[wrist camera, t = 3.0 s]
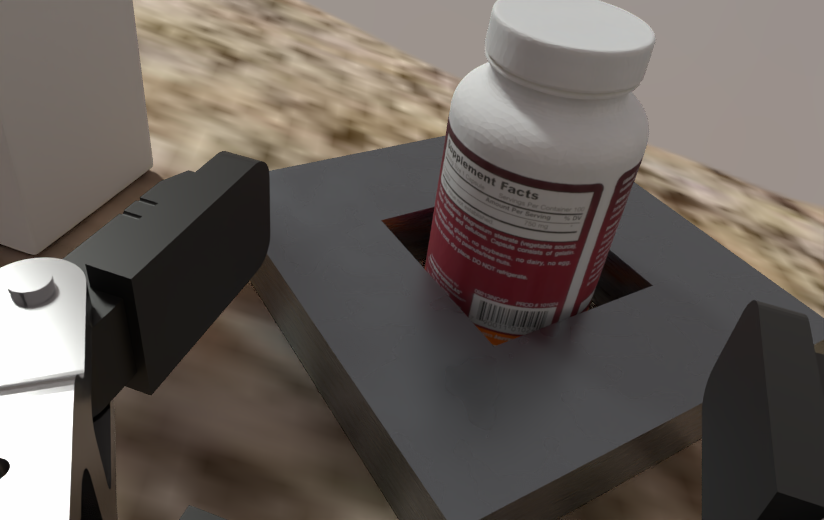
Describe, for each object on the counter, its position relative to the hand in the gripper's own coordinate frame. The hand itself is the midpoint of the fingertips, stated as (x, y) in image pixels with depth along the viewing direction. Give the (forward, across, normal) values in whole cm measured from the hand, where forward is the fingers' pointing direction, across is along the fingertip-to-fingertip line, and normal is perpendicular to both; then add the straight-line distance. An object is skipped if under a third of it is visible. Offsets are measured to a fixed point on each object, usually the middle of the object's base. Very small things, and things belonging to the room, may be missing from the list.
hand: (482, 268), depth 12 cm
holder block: (+12, 0, +10) cm, 15 cm away
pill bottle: (+12, 0, +10) cm, 16 cm away
